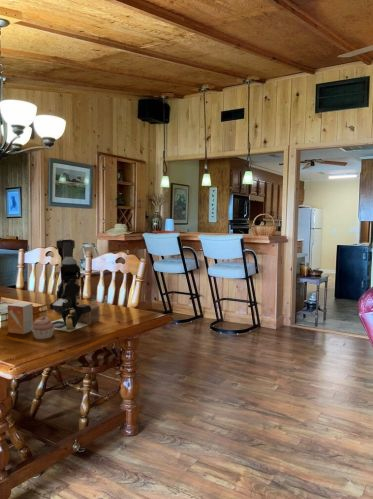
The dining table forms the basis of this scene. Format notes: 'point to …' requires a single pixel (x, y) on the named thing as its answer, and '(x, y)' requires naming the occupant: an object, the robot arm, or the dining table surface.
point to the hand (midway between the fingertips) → (70, 326)
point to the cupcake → (43, 328)
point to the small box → (20, 317)
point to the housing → (90, 315)
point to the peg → (69, 322)
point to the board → (61, 325)
